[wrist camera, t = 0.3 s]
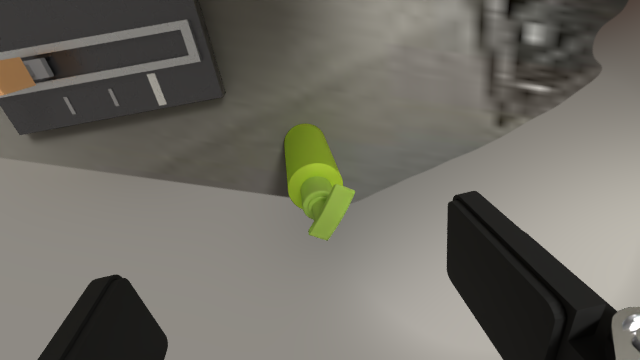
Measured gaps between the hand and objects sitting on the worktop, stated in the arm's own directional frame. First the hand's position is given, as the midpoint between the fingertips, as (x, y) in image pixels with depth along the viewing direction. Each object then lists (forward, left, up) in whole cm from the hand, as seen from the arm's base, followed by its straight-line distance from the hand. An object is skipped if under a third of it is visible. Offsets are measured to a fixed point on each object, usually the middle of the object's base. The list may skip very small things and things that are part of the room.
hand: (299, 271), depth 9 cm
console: (-5, -19, -35) cm, 40 cm away
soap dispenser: (+10, +2, -35) cm, 36 cm away
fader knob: (-5, -26, -32) cm, 41 cm away
